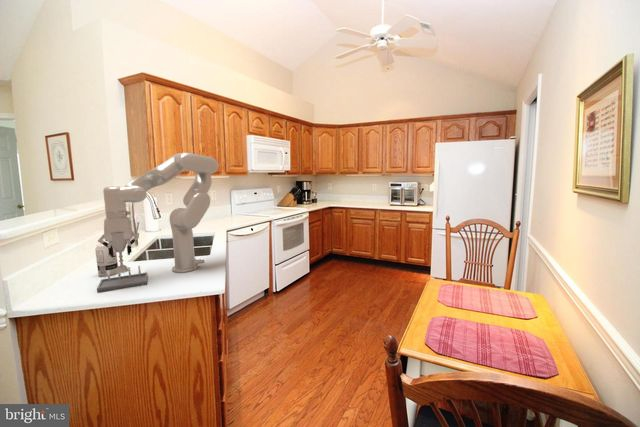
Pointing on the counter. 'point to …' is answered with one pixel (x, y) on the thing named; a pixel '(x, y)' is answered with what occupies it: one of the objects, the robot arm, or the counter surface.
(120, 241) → the chalice
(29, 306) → the counter surface
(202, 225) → the counter surface
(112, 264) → the supplement can
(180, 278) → the counter surface
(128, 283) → the drying rack
